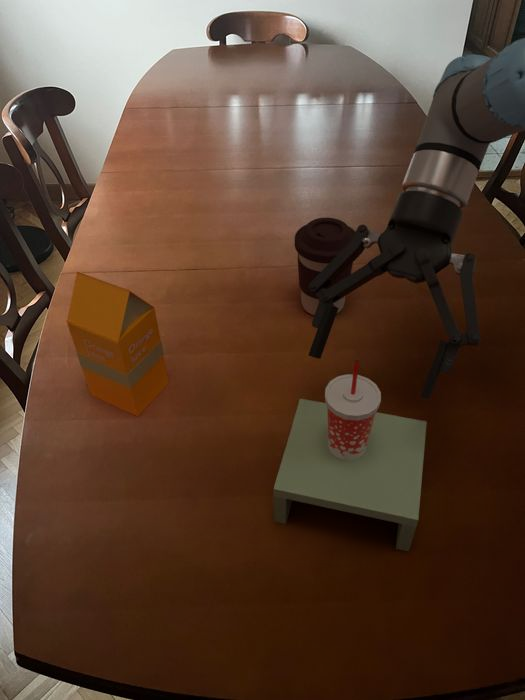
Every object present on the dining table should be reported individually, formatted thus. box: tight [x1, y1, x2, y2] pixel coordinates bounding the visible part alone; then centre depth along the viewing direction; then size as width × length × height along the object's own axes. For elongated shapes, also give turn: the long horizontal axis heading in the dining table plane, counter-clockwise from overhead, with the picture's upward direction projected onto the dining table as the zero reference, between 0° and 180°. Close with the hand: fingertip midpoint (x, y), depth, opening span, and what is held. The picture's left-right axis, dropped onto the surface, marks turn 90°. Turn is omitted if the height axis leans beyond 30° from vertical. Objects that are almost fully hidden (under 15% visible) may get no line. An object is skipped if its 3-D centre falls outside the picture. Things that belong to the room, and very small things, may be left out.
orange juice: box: [65, 271, 170, 418], centre depth 81 cm, size 8×9×20 cm
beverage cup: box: [324, 359, 382, 461], centre depth 66 cm, size 6×6×14 cm
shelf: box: [272, 398, 427, 552], centre depth 72 cm, size 14×16×7 cm
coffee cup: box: [294, 217, 356, 316], centre depth 96 cm, size 10×10×15 cm
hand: (367, 377), depth 68 cm, fingers open, 13 cm apart
